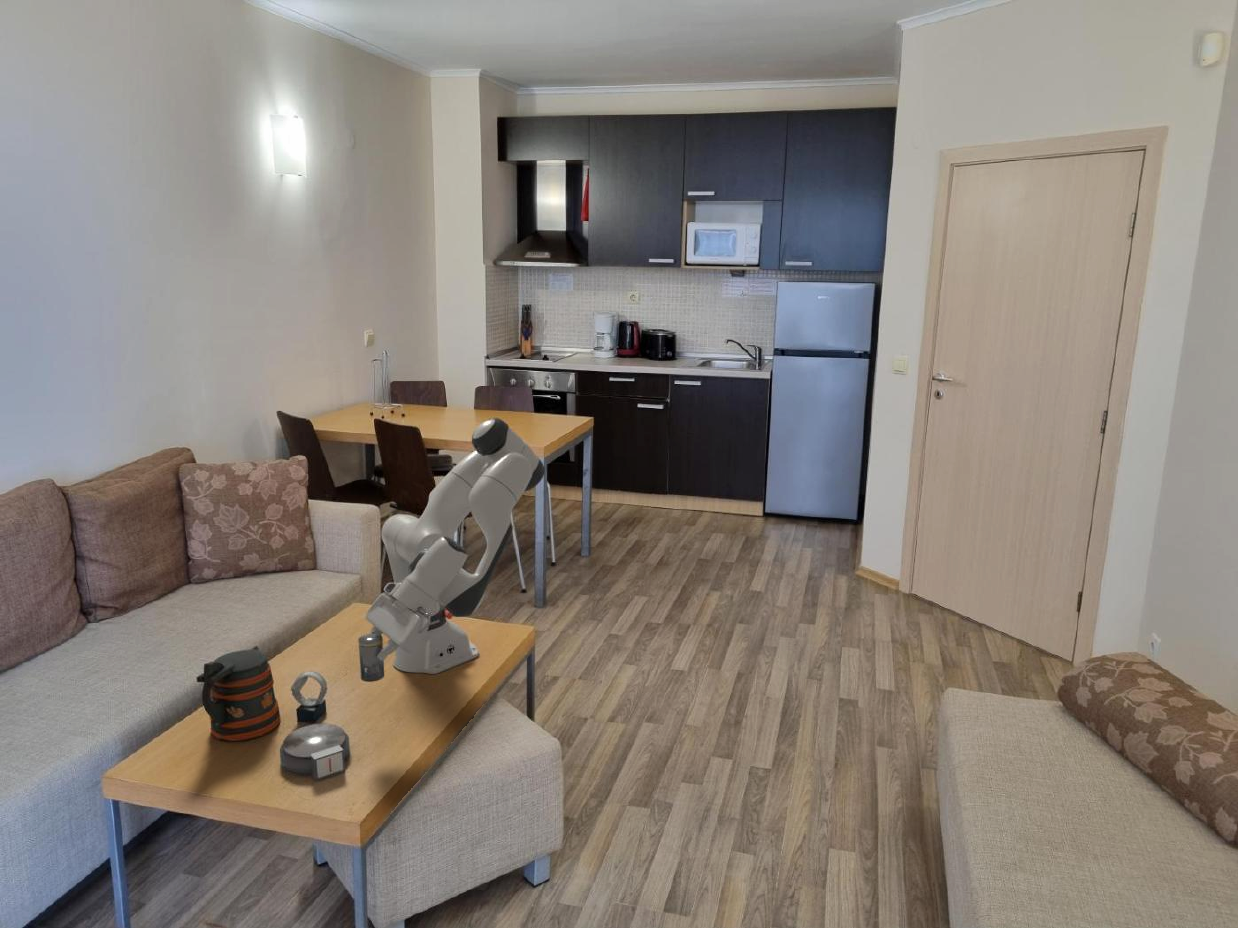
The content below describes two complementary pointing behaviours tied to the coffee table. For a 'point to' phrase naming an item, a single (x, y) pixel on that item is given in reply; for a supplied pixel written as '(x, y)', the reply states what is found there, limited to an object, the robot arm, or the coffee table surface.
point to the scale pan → (313, 740)
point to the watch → (311, 706)
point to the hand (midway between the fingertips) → (372, 653)
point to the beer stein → (240, 695)
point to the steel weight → (370, 657)
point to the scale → (318, 762)
